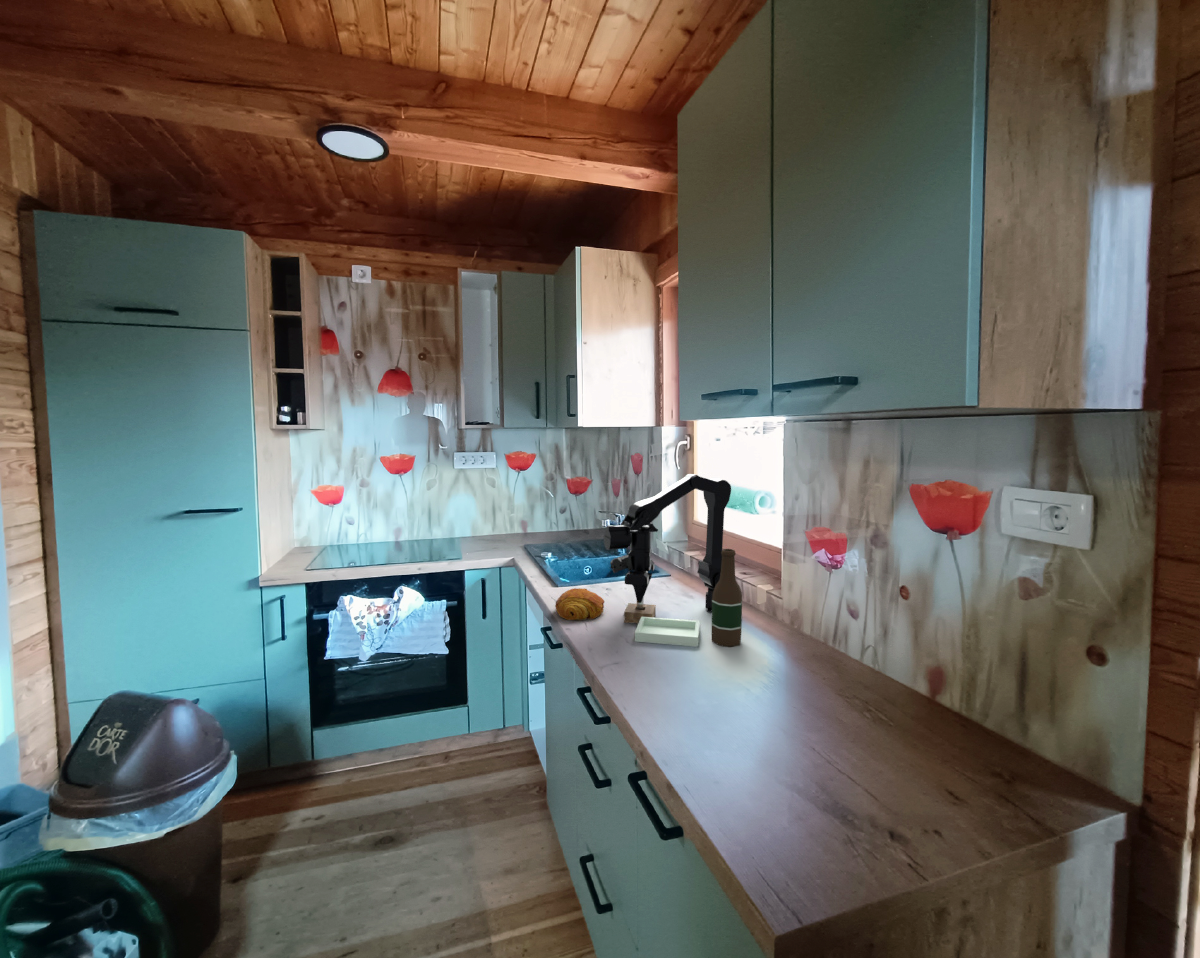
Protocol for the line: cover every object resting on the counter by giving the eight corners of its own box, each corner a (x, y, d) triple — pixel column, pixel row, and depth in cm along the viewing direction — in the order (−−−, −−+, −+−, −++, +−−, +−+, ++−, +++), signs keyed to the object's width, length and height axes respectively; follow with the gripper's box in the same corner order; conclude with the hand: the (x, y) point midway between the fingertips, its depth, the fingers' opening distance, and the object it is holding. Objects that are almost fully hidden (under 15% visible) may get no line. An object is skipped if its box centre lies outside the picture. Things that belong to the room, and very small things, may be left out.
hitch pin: (646, 613, 156) (646, 585, 155) (645, 617, 153) (645, 588, 152) (635, 612, 157) (635, 584, 156) (633, 616, 153) (633, 587, 153)
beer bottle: (705, 641, 138) (706, 549, 136) (720, 633, 144) (722, 545, 141) (732, 650, 133) (734, 554, 130) (747, 641, 138) (749, 549, 136)
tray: (699, 629, 146) (699, 620, 146) (697, 646, 135) (698, 637, 134) (641, 624, 150) (641, 616, 150) (634, 641, 138) (634, 632, 138)
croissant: (549, 626, 155) (547, 601, 153) (565, 602, 169) (563, 579, 168) (598, 629, 151) (596, 603, 149) (610, 605, 166) (608, 580, 164)
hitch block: (655, 614, 158) (655, 604, 158) (652, 624, 150) (652, 614, 150) (628, 612, 160) (628, 603, 159) (624, 622, 152) (624, 611, 152)
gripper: (618, 539, 164) (618, 589, 165) (606, 553, 146) (606, 609, 147) (654, 541, 161) (654, 591, 163) (647, 555, 143) (646, 612, 145)
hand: (640, 600), depth 154 cm, fingers closed on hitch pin, 3 cm apart
